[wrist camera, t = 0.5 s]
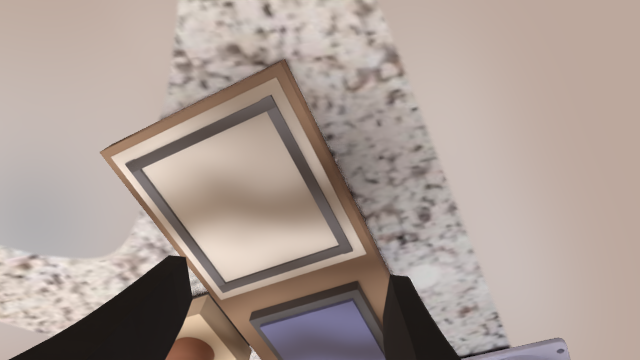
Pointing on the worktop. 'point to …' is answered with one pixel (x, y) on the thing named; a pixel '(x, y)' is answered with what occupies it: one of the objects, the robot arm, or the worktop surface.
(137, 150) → the desk board
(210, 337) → the stamp
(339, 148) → the worktop surface
